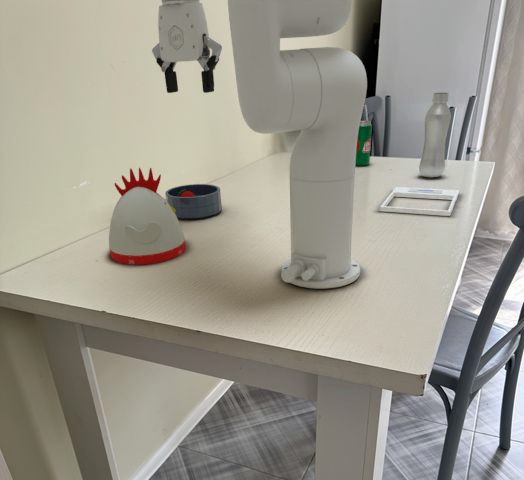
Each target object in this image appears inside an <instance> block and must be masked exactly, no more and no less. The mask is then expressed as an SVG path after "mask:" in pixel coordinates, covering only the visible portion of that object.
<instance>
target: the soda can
mask: <svg viewBox="0 0 524 480" xmlns="http://www.w3.org/2000/svg"><path fill="white" fill-rule="evenodd" d="M372 128H373V125H372V121H371V120H366V119H365V120H363V119H361V120H360V125H359V131H358V138H357V148H356V163H355V167H367V166H369V164H370V161H371V148H372V147H371V145H372V131H373V130H372Z"/></svg>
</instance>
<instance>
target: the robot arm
mask: <svg viewBox="0 0 524 480" xmlns="http://www.w3.org/2000/svg"><path fill="white" fill-rule="evenodd" d="M352 2H353V0H227V8H228V21H229V29H230V39H231V46H232V56H233V64H234V72H235V81H236V82H235V83H236V89H237V97H238V104H239V107H240V112H241V115H242V118H243V120H244V122H245V123H246V126H248V127H249V129H251V131H253V132H255V133H258V134H262V135H263V134H264V135H269V134H281V133H288V132H294V131H295V132H296V131H300V133H299V135H298V136H297V138H296V140H295V143H294V145H293V148H292V150H291V154H290V159H289V223H290V225H289V226H290V227H289V228H290V229H289V230H290V259H288V260H286V261H285V262H284V263H283V264H282V265H281V273H280V277H281V280H282V281H283V282H285V283H289V284H292V285H294V286H297V287H301V288H307V289H317V290H319V289H322V290H324V289H325V290H326V289H335V288H340V287H344V286H347V285H350V284H351V283H353V282H355V281H356V280H358V279H359V277H360V275H361V266H360V264H359V263H358V261H356V260H354V259H353V258H352V239H353V219H354V218H353V217H354V199H355V198H354V197H355V179H356V177H355V176H356V166H355V163H356V148H357V138H358V131H359V125H360V121H362V116H363V111H364V107H365V103H366V99H367V98H366V97H367V90H368V77H367V72H366V68H365V65H364V64H363V61H362V60H361V59H360V58H359V57H358V55H357V54H355V53H353V51H350V50H348V49H345V48H341V47H330V46H326V47H323V46H322V47H309V48H308V47H306V48H305V47H304V48H297V49H282V50H281V39H293V38H310V37H321V36H327V35H331V34H334V33H337V32H339V31H340V30H341V29H342V28H343V27H344V26H345V25H346V24H347V22H348V20H349V17H350V14H351V9H352V4H353V3H352ZM157 17H158V19H157V20H158V21H157V23H158V24H157V25H158V26H157V27H158V43H157V44H155V46H154V47H152V49H151V52H152V54H153V56H154V58H155V61H156V64H157V65H158V67H159V68H160V70H161V72H162V73H164V80H165V88H166V93H167V94H172V93H178V92H179V86H178V77H177V76H178V75H177V71H175V68H176V66H177V63H178V62H179V63H181V62H195V61H197V62H198V64H199V65H200V67H201V68H202V69H203V70H202V71H201V74H200V75H201V85H202V92H203V93H204V94H207V93H213V92H215V77H214V76H215V75H214V71H215V70H216V67H217V64H218V63H219V61H220V56H221V53H222V50H223V46H222V45H221V44H220V43H218V42H217V41H215V40H214V39H212V37H210V35H209V27H208V23H207V17H206V13H205V9H204V6H203V3H202V2H201V1H200V0H161V5H159V6H158V16H157Z"/></svg>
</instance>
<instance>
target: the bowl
mask: <svg viewBox="0 0 524 480" xmlns="http://www.w3.org/2000/svg"><path fill="white" fill-rule="evenodd" d="M183 189H185V190H186V191H190V192H192V193H193V194H194V195H195V196H196V197H177V195H178V193H179V192H180V191H181V190H183ZM221 193H222V192H221V188H220V186H218V185H215V184H208V183H194V184H192V183H191V184H184V185H179V186H174V187H172V188H169V189H167V190H166V191H165V193H164V196H165V200H166V201H167V202H168V204H169V205H170V206H171V207H173V208H174V209H175V210H176V211H175V214H176V217H177V219H182V220H199V219H205V218H206V219H207V218H209V217H213V216H215V215H216V214H217V213H220V212H221V211H222V210H223V209H222V208H223V207H222V206H223V205H222V195H221Z"/></svg>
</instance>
